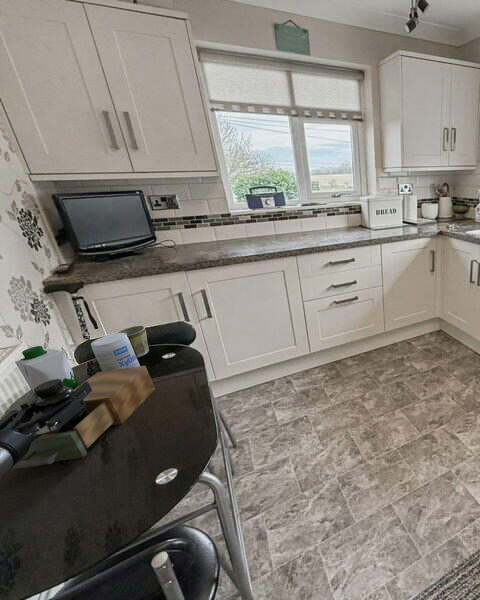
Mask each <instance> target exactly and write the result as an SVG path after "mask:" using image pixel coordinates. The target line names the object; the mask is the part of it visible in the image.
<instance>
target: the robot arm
mask: <svg viewBox="0 0 480 600" xmlns="http://www.w3.org/2000/svg"><path fill="white" fill-rule="evenodd" d="M81 384H82V383H81ZM81 384H80V385H81ZM91 391H92V389H91V387H90V385H89V383H88V382H85V381H84V382H83V384H82V385H81V386H80V387H79V388H77V389H76V390H75V391H74V392H73V393H72V394H71V395H69V396H68V397H67V398H68V400H66V401H65V402H63V403H61V404H60V405H58V406H57V407H55V408H53V409H52V410H50V411H49V412H47V413H45V414H44V415H37V414H40V412H39V410H38V409H37V407H36V405H35V403H36V400H37V399H35V400H34V401H32V402H31V403H30V404H28V403H22V404H20V405H19V408H21V409H20V410H19V409H17V408H16V409H12V410H11V411H9V412H8V413H7V414H6V415H4V416H3V417H2V419H0V479H1V478H2V477H4V475H5V474H6V473H8V472H9V471H10V470H11V468H14V467H13V466H14V465H15V464H16V463H17V462H18V461H22V458H23V457H24V456H25V455H26V454H27V453H28V451H29V449H30V446H31V443H32V441H34V440H35V439H37V438H39V437H40V436H41V435H42V434H43V433H46V432H49V431H50V432H51V433H52V434H54V433H57V432H58V431H59V430H60V429H61V427H62V426H63V425H64V424H65V423H66V422H68V421H69V420H70V419H71V418H72V417H73V416H75V415H76V414H77V413H78V412H79V411H81V410H82V409H83V408H84V407H85V406H86V403H85V402H84V400H83V399H84V398H85V397H87V395H88V394H89V393H90V392H91ZM34 415H36V416H35V417H34Z"/></svg>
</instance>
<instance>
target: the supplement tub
mask: <svg viewBox="0 0 480 600" xmlns="http://www.w3.org/2000/svg"><path fill="white" fill-rule="evenodd" d="M115 333H116V332H115ZM115 333H112V334H108V335H104V336H102V337H99V338H96V339H95V340H93V341H92V342H91V343H90V347H91V350H92V352H93V354H94V356H95V360H96V361H97V362H98V365H99V368H100V370H101V372H102V371H109V370H117V369H124V368H132V367H139V366H141V365H140V363H139V360H138V358H136V355H135V353H134V350H133V348H132V346H131V343H130V341H129V339H128V337H127V335H126V334H125V333H116V334H115Z"/></svg>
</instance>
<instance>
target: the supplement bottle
mask: <svg viewBox="0 0 480 600" xmlns="http://www.w3.org/2000/svg"><path fill="white" fill-rule="evenodd" d="M34 392H35V394H36V396H37V397H39V398H38V399H35V400H36V403H35V405H36V407H37V409H38V410H39V412H40V413H39V414H40V416H42V415H44V414H45V413H47V412H49V411H50V410H52V409H53V408H55V407H57V406H58V405H60V404H61V403H63V402H65V401H66V400H68V398H67V397H68V396H69V395H71V394H72V393H73V392H74V390H73V389H72V388H70V387H65V385H64V383H63V382H62V380H61V379H54V380H50V381H47V382H44V383H42V384H40V385H38V386H37V387H35V388H34ZM87 416H88V415H87V413H86V411H85V409H84V408H83V409H82V410H81V411H79V412H78V413H77V414H76V415H75V416H73V417H72V418H71V419H70V420H69V421H68V422H66V423H65V424H64V425H63V426H62V427H61V429H60V430H59V431H58V432H57V433H62V432H66V431H69V430H71V429H73V428H74V427H75V426H76V425H78V424H79V423H80V422H81V421H82V420H83V419H84V418H85V417H87Z"/></svg>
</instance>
